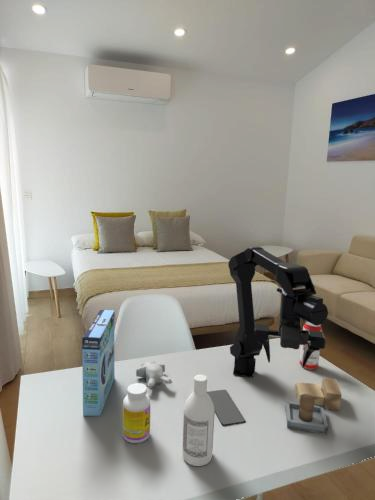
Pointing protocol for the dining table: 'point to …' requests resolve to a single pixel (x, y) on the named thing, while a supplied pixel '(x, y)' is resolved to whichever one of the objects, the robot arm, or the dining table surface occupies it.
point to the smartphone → (225, 408)
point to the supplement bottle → (136, 414)
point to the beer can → (314, 357)
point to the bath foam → (198, 424)
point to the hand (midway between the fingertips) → (285, 364)
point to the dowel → (306, 407)
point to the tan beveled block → (310, 392)
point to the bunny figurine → (152, 373)
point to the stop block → (331, 394)
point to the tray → (314, 426)
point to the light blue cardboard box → (98, 362)
